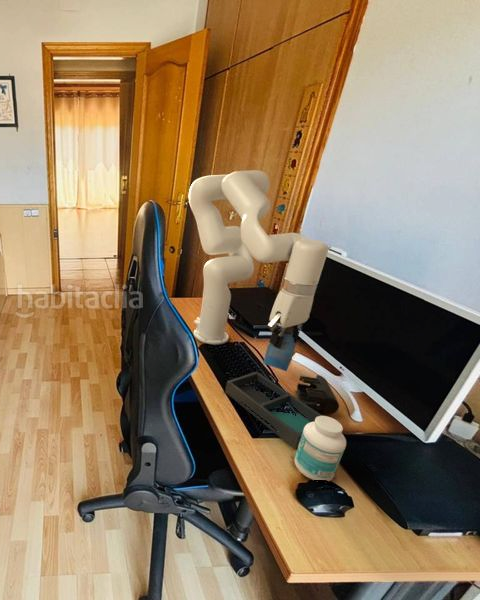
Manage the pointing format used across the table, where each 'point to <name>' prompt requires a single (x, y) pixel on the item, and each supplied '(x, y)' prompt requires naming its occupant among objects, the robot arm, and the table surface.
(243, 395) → the rack
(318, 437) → the pill bottle
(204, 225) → the robot arm
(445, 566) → the table surface
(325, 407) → the dark brown rock
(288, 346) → the perfume bottle
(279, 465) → the table surface
